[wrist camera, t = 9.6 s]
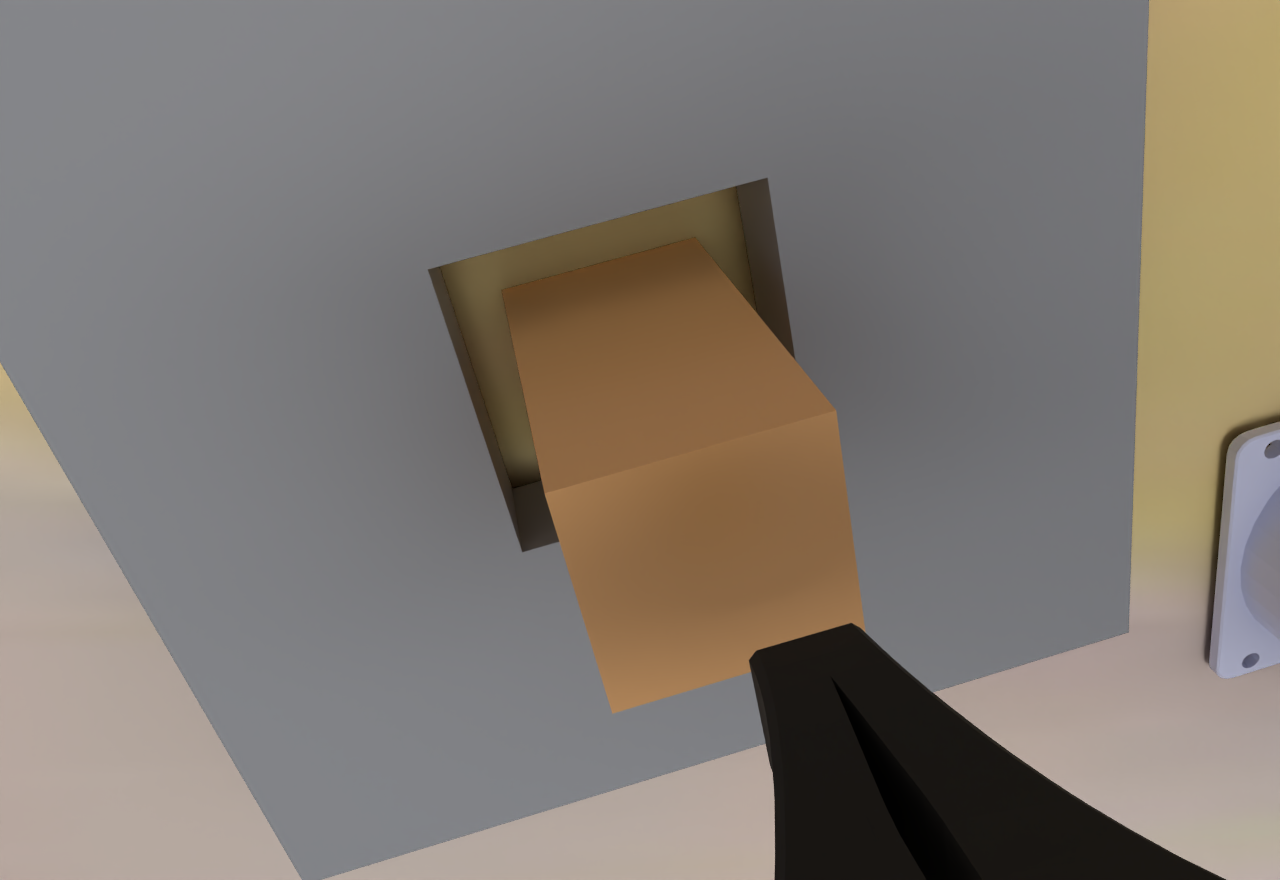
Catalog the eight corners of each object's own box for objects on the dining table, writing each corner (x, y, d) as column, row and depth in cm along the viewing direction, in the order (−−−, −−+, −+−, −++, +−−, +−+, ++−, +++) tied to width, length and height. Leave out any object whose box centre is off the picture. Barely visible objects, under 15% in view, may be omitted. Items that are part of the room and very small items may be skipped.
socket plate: (1066, -384, 17) (1162, -427, 15) (1070, 572, 27) (1128, 632, 24) (-167, -90, 16) (-262, -88, 13) (314, 800, 25) (304, 884, 23)
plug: (694, 237, 21) (836, 410, 14) (727, 409, 23) (866, 637, 16) (501, 290, 20) (544, 493, 13) (551, 459, 22) (612, 713, 15)
